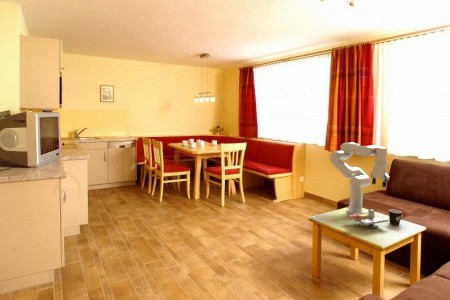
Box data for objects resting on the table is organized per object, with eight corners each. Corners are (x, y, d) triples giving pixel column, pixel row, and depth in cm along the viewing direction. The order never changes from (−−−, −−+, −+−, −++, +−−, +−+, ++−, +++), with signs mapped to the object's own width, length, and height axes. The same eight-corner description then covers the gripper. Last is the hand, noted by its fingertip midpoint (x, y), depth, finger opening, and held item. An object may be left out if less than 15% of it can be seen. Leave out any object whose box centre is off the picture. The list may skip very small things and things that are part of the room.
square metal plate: (346, 223, 226) (347, 208, 224) (368, 220, 233) (369, 205, 231) (364, 232, 209) (365, 216, 207) (387, 228, 216) (389, 212, 214)
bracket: (346, 218, 217) (346, 214, 217) (355, 217, 220) (355, 213, 220) (352, 221, 212) (352, 216, 211) (361, 219, 214) (361, 215, 214)
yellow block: (357, 225, 220) (358, 214, 219) (365, 224, 222) (365, 214, 221) (360, 226, 217) (361, 216, 216) (367, 225, 219) (368, 215, 218)
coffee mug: (388, 225, 223) (389, 212, 222) (387, 221, 231) (387, 208, 230) (406, 227, 219) (407, 214, 218) (404, 223, 227) (405, 210, 226)
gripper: (367, 161, 233) (366, 183, 235) (386, 165, 217) (384, 188, 219) (375, 161, 235) (373, 182, 237) (393, 164, 219) (392, 187, 221)
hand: (378, 185), depth 228 cm, fingers open, 9 cm apart
